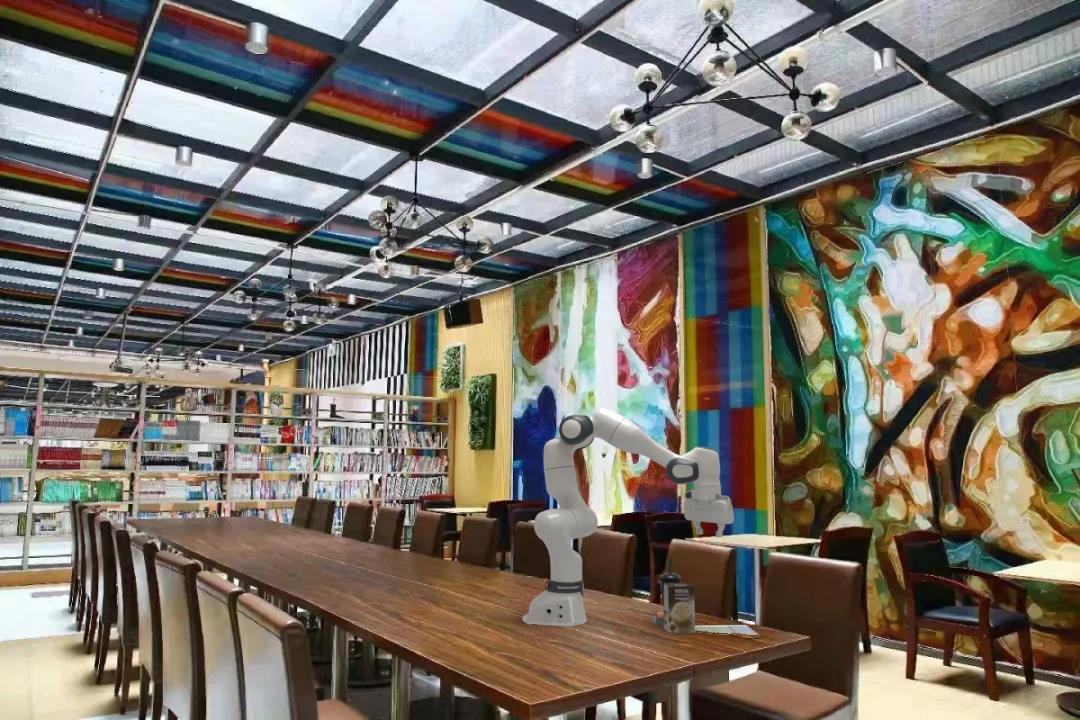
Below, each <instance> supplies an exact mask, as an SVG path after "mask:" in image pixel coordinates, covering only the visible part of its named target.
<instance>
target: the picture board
mask: <svg viewBox="0 0 1080 720" xmlns="http://www.w3.org/2000/svg"><path fill="white" fill-rule="evenodd" d="M695 630H697V631H708V632H712V633H713V632H715V633H717V632H718V633H728V634H731V633H740V634H747V635H759V634H758V633H757V632H756V631H755V630H753V629H752V628H750V627H749V626H748V624H727V625H726V624H725V625H724V624H718V625H716V624H715V625H713V624H712V625H707V624H705V625H699V624H698V625H696V624H695ZM712 633H711V634H712ZM728 634H727V635H728Z"/></svg>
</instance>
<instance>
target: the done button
mask: <svg viewBox="0 0 1080 720" xmlns="http://www.w3.org/2000/svg"><path fill="white" fill-rule="evenodd" d="M656 614H657V615H656V616H657V619H664V611H658V612H656Z"/></svg>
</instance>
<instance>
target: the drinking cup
mask: <svg viewBox="0 0 1080 720" xmlns="http://www.w3.org/2000/svg"><path fill="white" fill-rule="evenodd" d="M668 560H669V561H668V563H669V564H668V569H669V570H668V571H669V572H664V573H663V574H660V575H659V577H660V583H661V593H662V594H661V595H662V604H663V606H664V583H681V578H682V577H681V575H679V574H677V573H675V572H672V558H670V557H669V558H668Z"/></svg>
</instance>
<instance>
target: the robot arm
mask: <svg viewBox="0 0 1080 720" xmlns="http://www.w3.org/2000/svg"><path fill="white" fill-rule="evenodd" d="M558 434H559V437H557V438H552V439H550V440H548V441H547V442H545V444H544V447H543V473H544V479H545V480H544V481H545V486H546V487H545V489H546V492H547V494H548V495H549V496H550V497H552V498H554V500H556V502H557V503H558V506H559V508H550V509H547V510H544V511H541V512H538V513H537V515H536V516H535V519H534V522H533V529H534V532H535V535H536V536H537V537H538V538H539V539H540V540H541V541H543V543H544V544H545V547H546V548H547V551H548V554H549V561H550V564H549V565H550V578H549V579H548V578H544V579H543V585H544V591H543V592H541V593H539V594H538V595H537V596H536V597H534V599H532V601H531V602H530V604H529V607H528V613H526V614H524V615H523V616H522V622H523V623H524V622H525V624H526V623H527V624H526V625H532V624H537V625H536V626H551V625H552V627H553V626H556V627H573V626H578V625H583V624H585V623H587V622H588V620H587V616H586V612H585V606H584V598H583V597H584V593H585V591H584V590H585V589H584V586H585V585H584V584H585V583H584V579H583V558H582V556H581V554H579V552H577V551H575V550H574V549H573V545H572V541H571V540H574V539H582V538H586V537H589V536H592V535H593V534H594V533H595V532H596V531H597V529H598V528H597V527H598V516H597V514H596V512H595V511H594V510H593V509H592V508H591V507H589V506H588V504H587V503H586V502H585V501H584V499H583V497H582V495H581V493H580V490H579V487H578V482H577V476H576V475H577V474H576V470H575V459H574V454H575V453H577V452H580V451H581V450H584V449H585V448H588V447H589V446H591V444H592V443H593V442H594V440H595V438H598V439H601V440H602V441H604V442H606V443H607V444H609V445H610V446H612V447H613V448H616V449H618V450H620V451H622V452H625V453H628V454H629V453H630V454H635V455H640V456H643V457H646V458H648V459H650V460H651V461H653V462H655V463H657V464H658V465H660V466H661V467H663V468H664V469H665V474H666V477H667V479H668V480H669V481H670V482H672V483H674V484H676V485H689V484H694V488H692V489H690V490H688V491H686V492H684V493H683V497H684V499H685V500H684V503H683V504H684V505H683V512H684V513H683V514H684V515H683V516H684V518H685V519H686V521H692V522H693V526H694V528H695V529H696V531H695V533H696V535H699V536H700V535H703V534H704V529H703V528H702V527H701V522H703V523H713V524H717V527H718V528H717V531H715V537H716V538H722V537H724V536H723V535H724V534H723V532H724V530H725V528H726V525H731V524H733V523H734V521H735V519H734V518H735V517H734V509H733V505H732V500H731V498H730V497H729V496H727V495H722V490H721V489H722V488H721V487H722V486H721V485H722V484H721V481H720V475H721V466H720V465H721V464H720V457H719V454H718V451H717V450H715V449H714V448H712V447H706V446H700V445H699V446H695V447H694V448H693V449H691V450H690V451H688V452H686V453H684V454H678V453H675V452H674V451H672V450H670V449H668V448H666V447H665V446H663V445H662V444H660V443H658V442H657V441H656V440H654V439H652V438H651V437H650V436H649V435H648V434H646V433H645V432H644V430H642V429H641V428H640V427H639V426H638V425H637V424H635V423H634V422H633V421H631V420H630V419H628V418H626V416H624V415H621V414H620V413H617V412H616V411H613V410H611V409H608V408H606V407H600V408H597V409H595V410H594V411H593V413H591V415H590V416H588V415H583V414H582V415H581V414H579V415H578V414H575V415H568V416H566V417H564V418H562V420H561V421H560V423H559V426H558Z"/></svg>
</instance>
